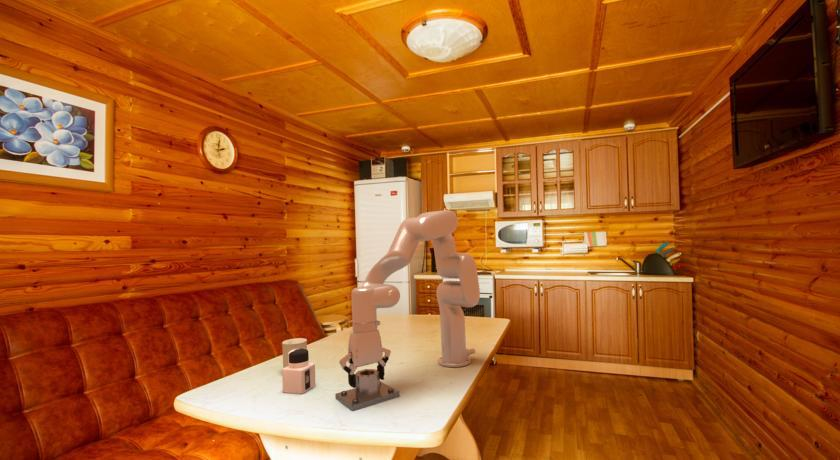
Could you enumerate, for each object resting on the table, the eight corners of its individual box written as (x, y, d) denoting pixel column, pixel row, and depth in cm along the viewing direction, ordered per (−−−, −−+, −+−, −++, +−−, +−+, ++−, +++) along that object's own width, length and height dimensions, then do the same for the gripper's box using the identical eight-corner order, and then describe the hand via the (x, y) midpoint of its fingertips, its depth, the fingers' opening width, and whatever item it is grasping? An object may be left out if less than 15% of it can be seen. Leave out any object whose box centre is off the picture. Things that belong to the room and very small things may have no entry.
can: (277, 374, 146) (276, 342, 146) (294, 366, 155) (293, 336, 155) (297, 376, 143) (296, 343, 143) (313, 368, 151) (312, 337, 152)
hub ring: (372, 386, 125) (371, 367, 125) (383, 392, 119) (382, 372, 119) (352, 392, 121) (351, 372, 121) (363, 398, 115) (362, 378, 115)
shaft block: (380, 385, 129) (379, 365, 129) (399, 396, 119) (398, 374, 120) (335, 398, 120) (334, 376, 120) (352, 411, 110) (351, 387, 110)
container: (316, 385, 132) (314, 347, 132) (302, 394, 125) (300, 353, 125) (297, 384, 134) (295, 346, 135) (282, 392, 127) (281, 352, 127)
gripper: (383, 321, 128) (385, 373, 128) (333, 329, 118) (335, 386, 118) (394, 324, 122) (397, 379, 122) (344, 333, 112) (346, 393, 112)
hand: (367, 382), depth 120 cm, fingers open, 9 cm apart
